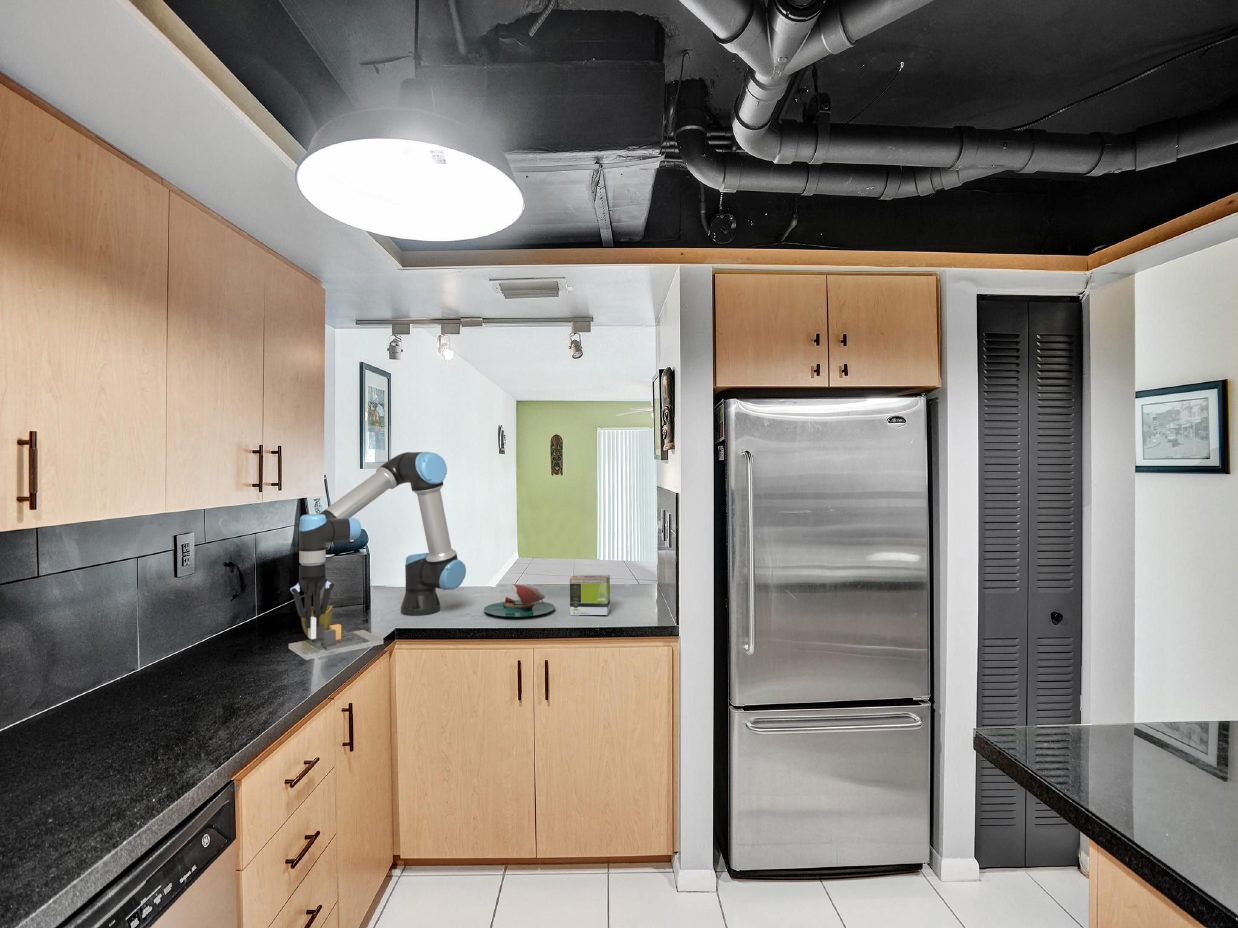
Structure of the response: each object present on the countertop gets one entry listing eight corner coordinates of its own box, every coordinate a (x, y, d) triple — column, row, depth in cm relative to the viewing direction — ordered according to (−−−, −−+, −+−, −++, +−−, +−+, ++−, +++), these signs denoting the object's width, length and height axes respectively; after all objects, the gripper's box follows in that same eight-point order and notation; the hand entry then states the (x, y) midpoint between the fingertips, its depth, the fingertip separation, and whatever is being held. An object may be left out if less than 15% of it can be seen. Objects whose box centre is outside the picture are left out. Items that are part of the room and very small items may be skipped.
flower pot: (300, 639, 212) (300, 612, 211) (305, 632, 220) (305, 606, 220) (328, 637, 214) (328, 611, 214) (332, 630, 222) (332, 605, 222)
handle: (333, 644, 199) (333, 628, 199) (335, 646, 198) (335, 630, 198) (323, 646, 197) (323, 630, 197) (325, 647, 196) (325, 632, 196)
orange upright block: (338, 639, 205) (338, 623, 205) (341, 640, 204) (341, 625, 204) (329, 641, 203) (329, 625, 203) (331, 642, 202) (331, 626, 202)
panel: (363, 633, 218) (363, 626, 218) (383, 643, 207) (383, 636, 207) (288, 648, 201) (288, 640, 201) (305, 659, 190) (305, 651, 190)
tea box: (610, 610, 254) (610, 574, 254) (607, 617, 244) (607, 578, 244) (573, 609, 255) (573, 573, 255) (569, 615, 245) (569, 578, 245)
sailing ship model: (538, 623, 234) (538, 593, 234) (470, 617, 241) (470, 588, 241) (564, 606, 261) (565, 579, 261) (503, 602, 268) (503, 576, 268)
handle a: (321, 638, 207) (321, 623, 207) (324, 639, 205) (324, 624, 205) (312, 639, 204) (312, 624, 204) (314, 641, 203) (314, 625, 203)
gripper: (329, 559, 206) (329, 631, 206) (286, 564, 197) (285, 639, 197) (338, 562, 201) (337, 636, 201) (294, 567, 191) (293, 644, 191)
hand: (312, 637), depth 199 cm, fingers closed
